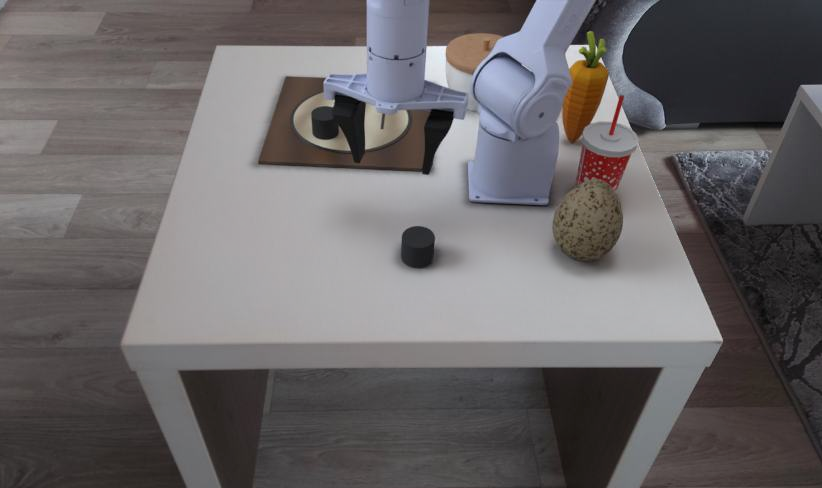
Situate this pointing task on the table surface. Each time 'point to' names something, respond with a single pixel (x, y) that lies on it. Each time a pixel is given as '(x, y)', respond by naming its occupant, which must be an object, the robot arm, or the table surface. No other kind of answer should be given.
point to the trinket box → (467, 61)
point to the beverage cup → (606, 150)
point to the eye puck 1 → (324, 123)
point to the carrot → (584, 89)
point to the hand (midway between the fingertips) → (393, 163)
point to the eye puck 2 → (417, 246)
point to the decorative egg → (588, 221)
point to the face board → (340, 133)
